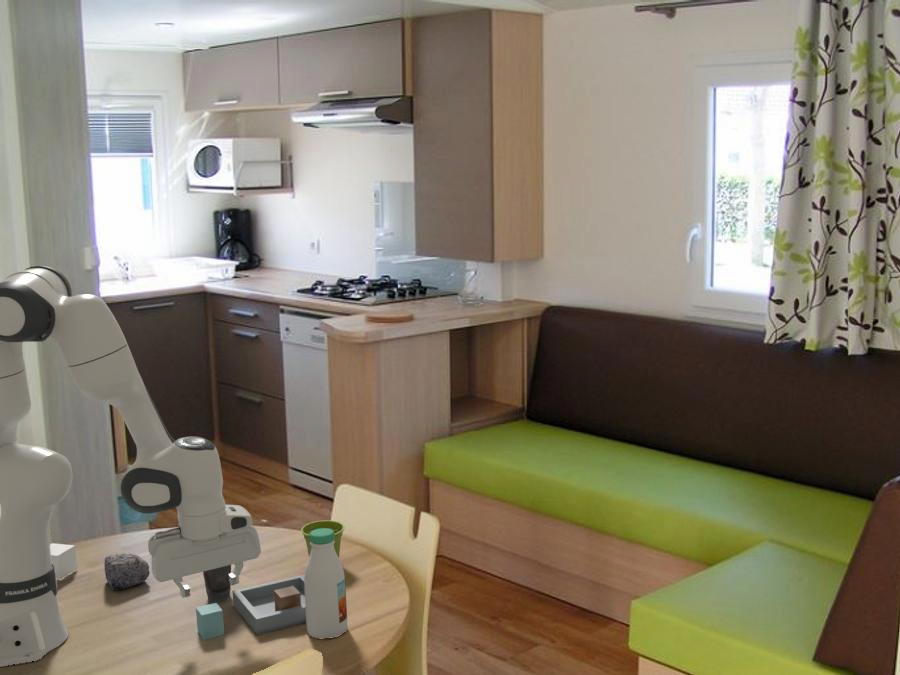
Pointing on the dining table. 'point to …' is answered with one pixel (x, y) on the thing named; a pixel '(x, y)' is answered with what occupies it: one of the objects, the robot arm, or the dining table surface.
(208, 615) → the teal block
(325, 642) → the dining table surface
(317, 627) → the milk bottle
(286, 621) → the tray
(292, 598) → the walnut block
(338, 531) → the plant pot
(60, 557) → the white cube
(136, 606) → the dining table surface
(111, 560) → the pumice stone
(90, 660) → the dining table surface
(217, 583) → the beverage cup
